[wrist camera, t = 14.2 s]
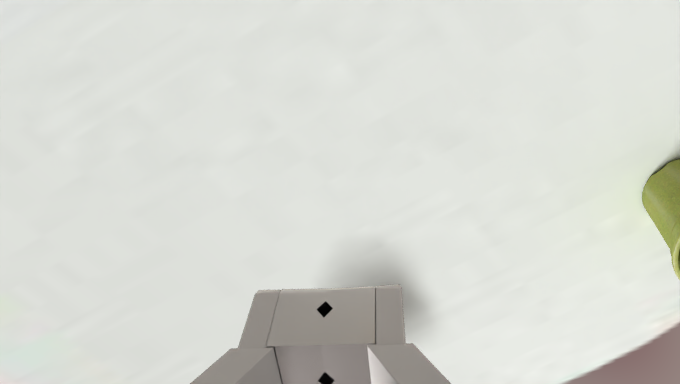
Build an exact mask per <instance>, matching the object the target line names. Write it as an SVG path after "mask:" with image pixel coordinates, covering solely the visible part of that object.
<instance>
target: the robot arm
mask: <svg viewBox="0 0 680 384" xmlns="http://www.w3.org/2000/svg"><path fill="white" fill-rule="evenodd" d="M190 384H451V383H450V382H449V381H448V380H447V379H446V378H445V377H444V376H443V375H442V374H441V372H440V371H439V370H438V369H437V368H436V367H435V366H434V365H433V364H432V363H431V362H430V361H429V360H428V359H427V358H426V357H425V356H424V355H423V354H422V352H421V351H420V350H419V349H418V348H417V347H416V346H415V345H414V344H406V342H405V329H404V315H403V301H402V287H401V286H400V284H398V285H382V286H374V287H353V288H331V289H282V290H259V291H258V292H257V293H256V294H255V295H254V299H253V302H252V305H251V308H250V311H249V314H248V318H247V321H246V324H245V327H244V330H243V333H242V336H241V340H240V343H239V346H238V348H235V349H230V350H229V351H227V352H226V353H225V354H224V355H223V356H222V357H220V358H219V359H218V360H217V361H216V362H215V363H213V364H212V365H211V366H210V367H209V368H208V369H207V370H205V371H204V372H203V373H202V374H201V375H200V376H198V377H197V378H196V379H195V380H194V381H193V382H191V383H190Z"/></svg>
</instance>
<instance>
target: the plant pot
mask: <svg viewBox="0 0 680 384" xmlns="http://www.w3.org/2000/svg"><path fill="white" fill-rule="evenodd" d="M642 202H643V205H644V207H645V209H646V211H647V212H648V214H649V215H650V217H651V219H652V220H653V222H654V223H655V225H656V227H657V228H658V230H659V232H660V233H661V235H662V237H663V238H664V240H665V242H666V243H667V245H668V247H669V248H670V252H671V256H672V265H673V268H674V271H675V273H676V275H677V277H678V278H679V280H680V159H678V160H674V161H672V162H669V163H668V164H666V165H665V167H664V168H662V169H661V170H660V171H659V172H657V173H655V174H654V175H652V176H651V177H650V178H649V179H648V181H647V183H646V184H645V187H644V190H643V193H642Z"/></svg>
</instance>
